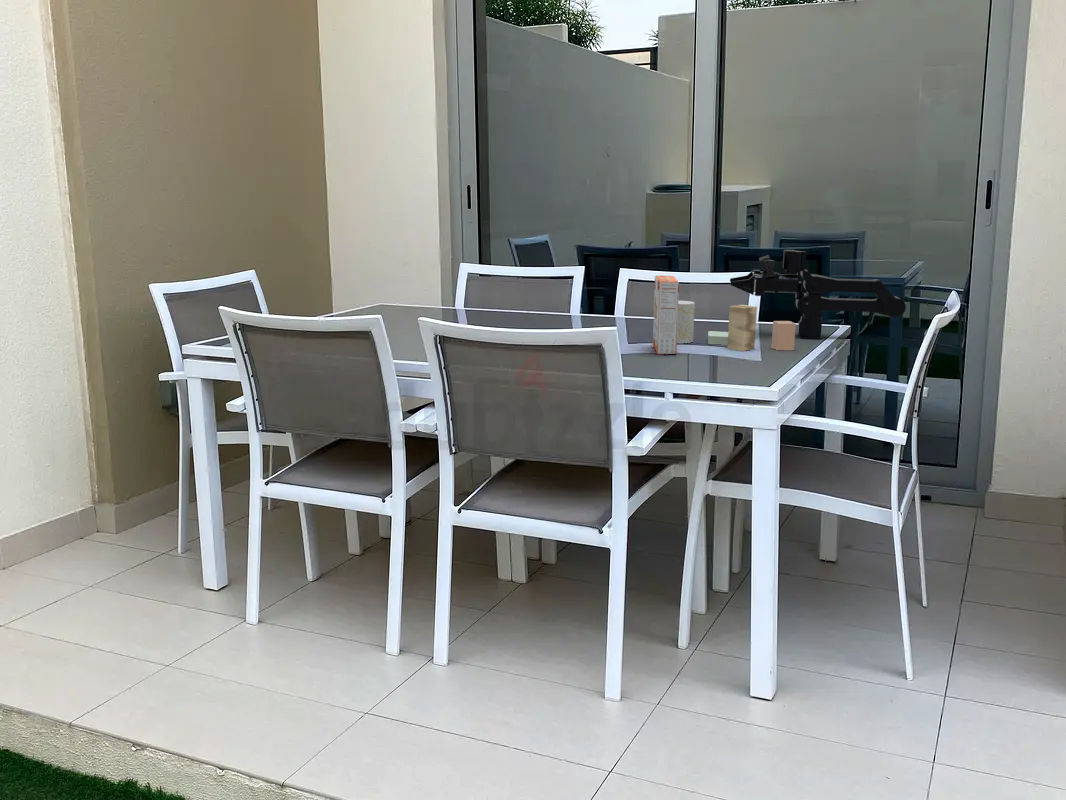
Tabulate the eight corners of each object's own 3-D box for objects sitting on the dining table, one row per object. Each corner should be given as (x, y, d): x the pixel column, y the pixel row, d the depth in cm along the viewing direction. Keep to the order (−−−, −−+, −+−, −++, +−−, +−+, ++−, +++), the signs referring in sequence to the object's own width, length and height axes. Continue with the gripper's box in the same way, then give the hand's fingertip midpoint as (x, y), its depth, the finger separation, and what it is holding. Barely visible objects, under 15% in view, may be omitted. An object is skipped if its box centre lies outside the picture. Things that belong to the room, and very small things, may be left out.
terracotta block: (787, 348, 304) (789, 321, 302) (793, 351, 299) (795, 323, 297) (771, 348, 303) (773, 321, 301) (777, 351, 298) (778, 323, 296)
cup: (676, 345, 306) (677, 304, 303) (660, 340, 313) (662, 301, 310) (698, 343, 310) (700, 303, 307) (682, 338, 317) (684, 300, 314)
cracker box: (651, 346, 303) (654, 275, 299) (671, 346, 303) (675, 275, 299) (655, 355, 290) (658, 280, 285) (676, 355, 290) (680, 280, 285)
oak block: (739, 346, 305) (741, 304, 302) (754, 349, 301) (757, 306, 298) (727, 348, 301) (729, 306, 298) (742, 351, 297) (745, 308, 294)
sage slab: (737, 342, 315) (738, 332, 314) (738, 347, 306) (739, 337, 306) (707, 340, 316) (708, 331, 316) (707, 345, 308) (708, 335, 307)
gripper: (781, 254, 327) (731, 253, 330) (785, 260, 309) (732, 258, 312) (778, 289, 330) (729, 288, 332) (782, 297, 312) (730, 295, 314)
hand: (730, 281), depth 323 cm, fingers open, 9 cm apart
